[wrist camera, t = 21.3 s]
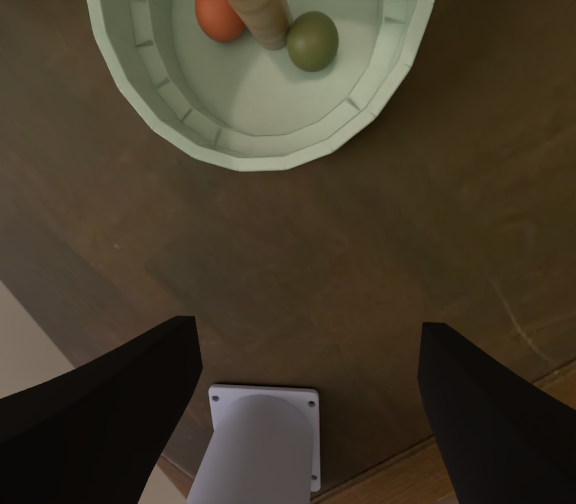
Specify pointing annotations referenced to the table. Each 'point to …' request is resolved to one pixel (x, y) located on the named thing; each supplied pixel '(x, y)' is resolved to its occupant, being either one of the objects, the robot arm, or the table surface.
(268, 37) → the stir stick
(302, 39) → the bead olive
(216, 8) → the bead terracotta
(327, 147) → the bowl
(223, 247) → the table surface
